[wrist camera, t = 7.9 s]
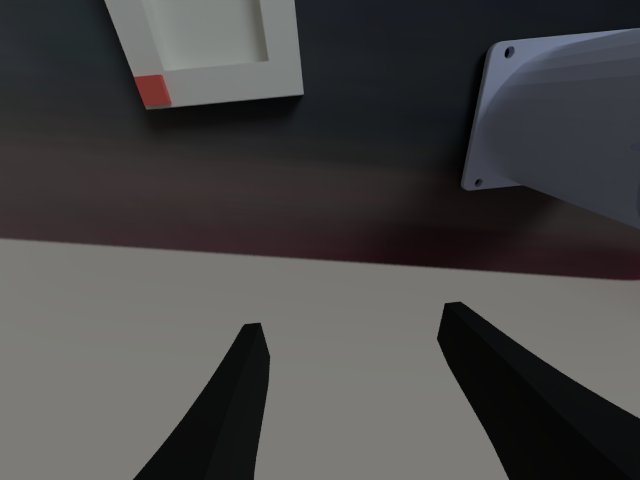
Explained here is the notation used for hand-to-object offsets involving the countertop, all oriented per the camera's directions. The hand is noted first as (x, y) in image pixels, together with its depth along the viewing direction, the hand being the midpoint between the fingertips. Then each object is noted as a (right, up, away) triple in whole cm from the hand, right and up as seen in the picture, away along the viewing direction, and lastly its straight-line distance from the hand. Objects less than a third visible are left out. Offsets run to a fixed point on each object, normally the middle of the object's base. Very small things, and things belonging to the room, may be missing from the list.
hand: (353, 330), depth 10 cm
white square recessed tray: (-7, +15, +2) cm, 16 cm away
